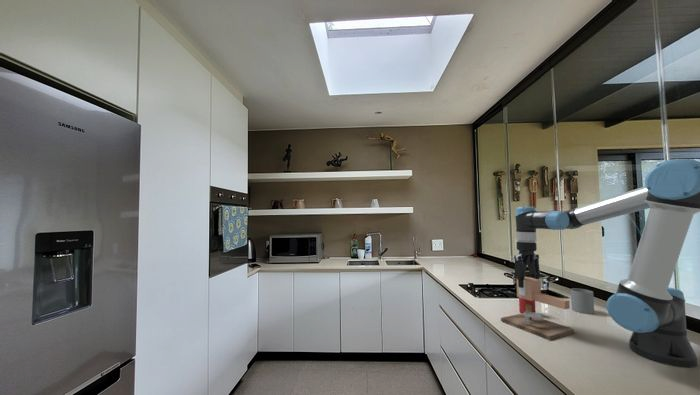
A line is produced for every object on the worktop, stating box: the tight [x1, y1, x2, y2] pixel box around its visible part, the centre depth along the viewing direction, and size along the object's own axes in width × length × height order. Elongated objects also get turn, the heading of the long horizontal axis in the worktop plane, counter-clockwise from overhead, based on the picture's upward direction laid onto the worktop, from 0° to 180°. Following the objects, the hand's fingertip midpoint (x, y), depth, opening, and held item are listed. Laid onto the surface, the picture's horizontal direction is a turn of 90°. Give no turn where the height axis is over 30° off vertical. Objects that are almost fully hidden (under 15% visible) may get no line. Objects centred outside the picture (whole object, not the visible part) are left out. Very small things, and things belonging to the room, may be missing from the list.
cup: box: [570, 287, 595, 315], centre depth 135 cm, size 8×8×10 cm
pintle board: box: [500, 304, 575, 341], centre depth 115 cm, size 20×16×8 cm
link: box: [516, 276, 571, 310], centre depth 115 cm, size 18×6×8 cm, turn 24°
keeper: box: [524, 311, 543, 326], centre depth 112 cm, size 3×5×7 cm, turn 68°
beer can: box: [518, 297, 537, 314], centre depth 132 cm, size 7×7×12 cm
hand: (527, 294), depth 121 cm, fingers closed on link, 6 cm apart
